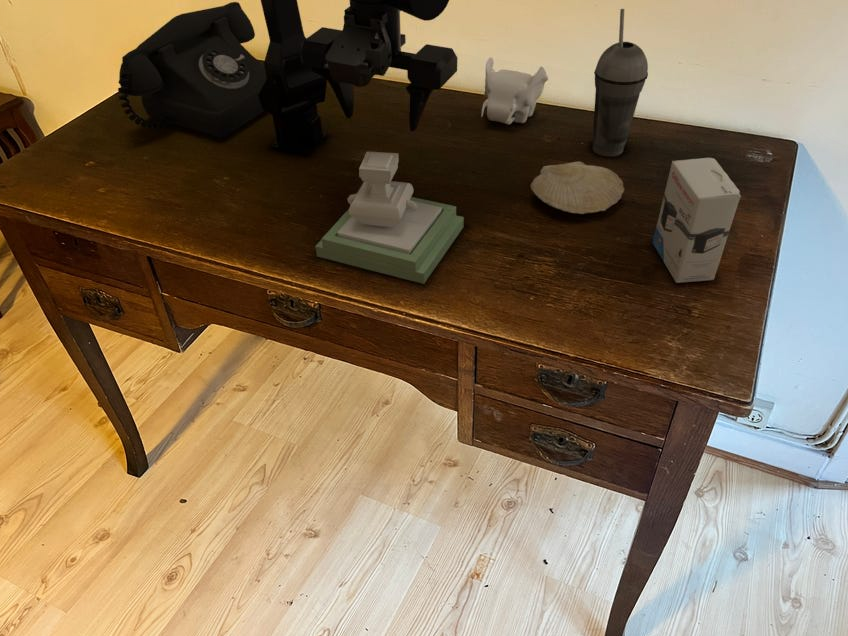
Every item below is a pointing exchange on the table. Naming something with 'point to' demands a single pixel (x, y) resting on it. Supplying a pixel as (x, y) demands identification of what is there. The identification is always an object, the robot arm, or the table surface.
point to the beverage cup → (617, 93)
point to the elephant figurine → (511, 93)
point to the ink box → (695, 219)
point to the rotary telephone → (196, 72)
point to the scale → (393, 261)
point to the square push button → (394, 230)
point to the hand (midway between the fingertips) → (381, 123)
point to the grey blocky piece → (380, 192)
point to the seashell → (578, 187)
